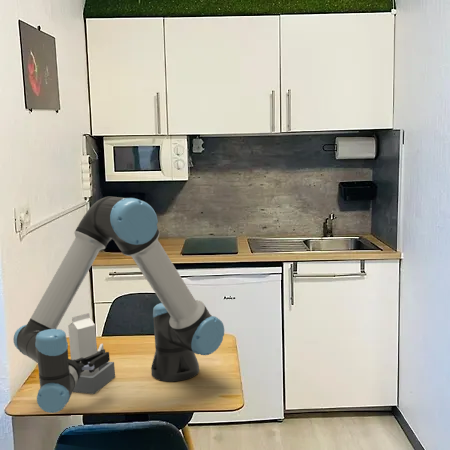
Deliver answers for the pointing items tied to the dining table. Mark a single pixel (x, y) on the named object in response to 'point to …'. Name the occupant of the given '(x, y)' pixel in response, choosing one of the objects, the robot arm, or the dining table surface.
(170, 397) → the dining table surface
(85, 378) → the housing
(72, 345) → the milk
